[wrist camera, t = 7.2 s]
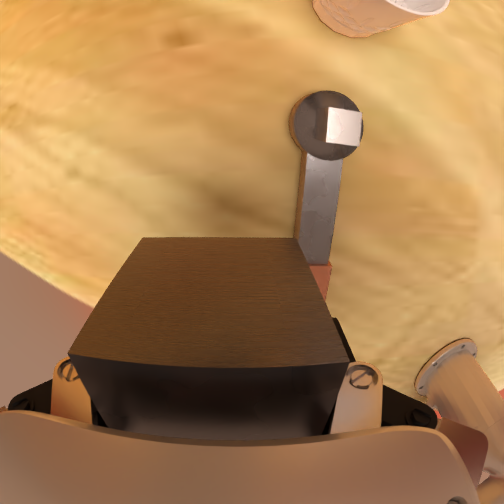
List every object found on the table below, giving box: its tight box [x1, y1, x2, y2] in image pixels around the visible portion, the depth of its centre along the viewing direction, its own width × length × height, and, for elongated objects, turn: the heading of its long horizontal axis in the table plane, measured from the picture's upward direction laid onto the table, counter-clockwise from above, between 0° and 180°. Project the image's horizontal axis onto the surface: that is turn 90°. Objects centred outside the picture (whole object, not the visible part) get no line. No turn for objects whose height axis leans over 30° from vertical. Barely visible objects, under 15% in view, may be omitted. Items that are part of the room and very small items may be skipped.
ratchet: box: [289, 91, 363, 301], centre depth 24 cm, size 23×6×6 cm, turn 177°
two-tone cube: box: [68, 237, 350, 440], centre depth 10 cm, size 6×6×6 cm
